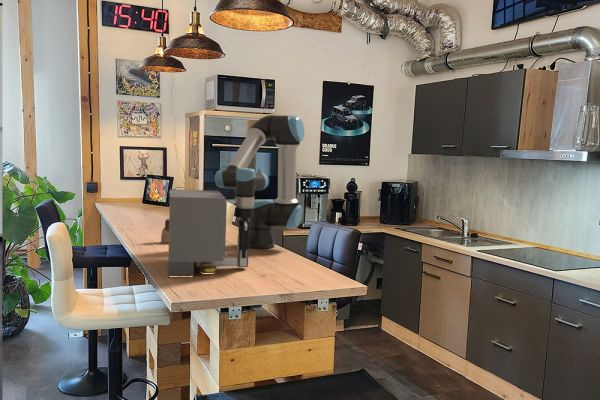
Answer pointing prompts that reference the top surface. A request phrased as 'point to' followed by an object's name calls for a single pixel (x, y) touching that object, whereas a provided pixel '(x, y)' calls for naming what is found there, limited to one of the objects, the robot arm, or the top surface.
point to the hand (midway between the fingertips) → (242, 264)
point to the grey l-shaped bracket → (229, 260)
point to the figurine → (165, 233)
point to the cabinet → (195, 229)
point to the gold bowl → (208, 268)
